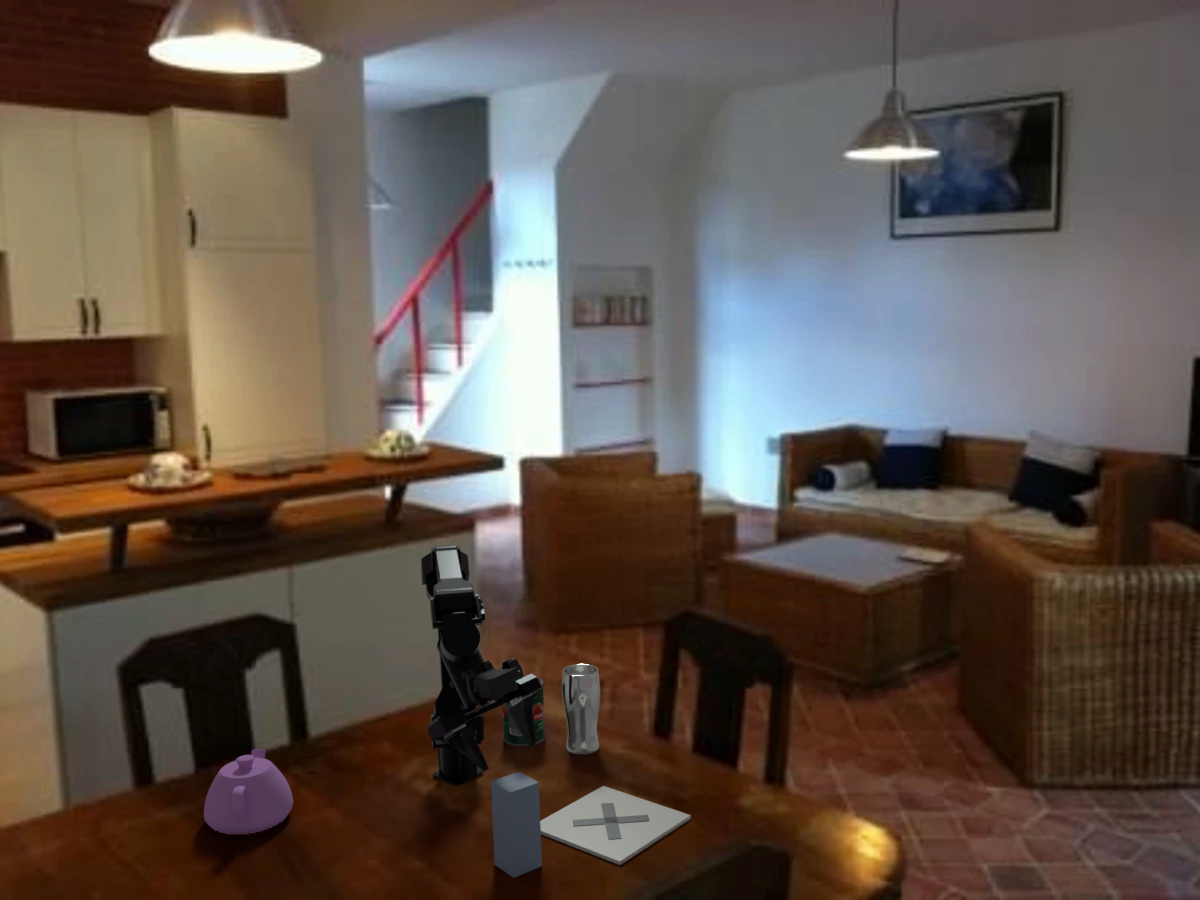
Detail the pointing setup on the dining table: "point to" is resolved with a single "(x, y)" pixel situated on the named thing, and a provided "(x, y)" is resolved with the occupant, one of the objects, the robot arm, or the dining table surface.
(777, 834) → the dining table surface
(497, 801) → the blue block
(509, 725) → the canned tomato
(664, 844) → the dining table surface
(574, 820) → the pad
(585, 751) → the beer glass
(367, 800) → the dining table surface
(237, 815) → the teapot
